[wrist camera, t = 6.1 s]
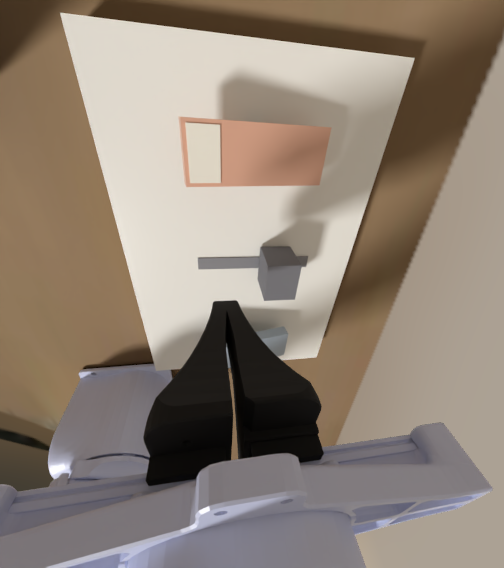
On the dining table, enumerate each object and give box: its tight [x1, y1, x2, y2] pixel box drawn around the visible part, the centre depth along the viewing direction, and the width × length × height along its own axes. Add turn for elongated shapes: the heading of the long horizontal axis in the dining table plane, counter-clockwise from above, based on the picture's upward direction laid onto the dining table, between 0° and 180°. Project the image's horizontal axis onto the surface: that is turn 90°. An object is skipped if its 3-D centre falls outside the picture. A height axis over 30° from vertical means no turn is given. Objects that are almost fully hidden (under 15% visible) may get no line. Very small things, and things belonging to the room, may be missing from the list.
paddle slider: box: [257, 246, 302, 301], centre depth 18 cm, size 2×3×3 cm
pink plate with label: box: [178, 116, 332, 187], centre depth 13 cm, size 8×3×1 cm, turn 86°
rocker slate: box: [226, 326, 288, 368], centre depth 22 cm, size 8×3×1 cm, turn 86°
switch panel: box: [60, 13, 415, 371], centre depth 20 cm, size 18×26×3 cm
